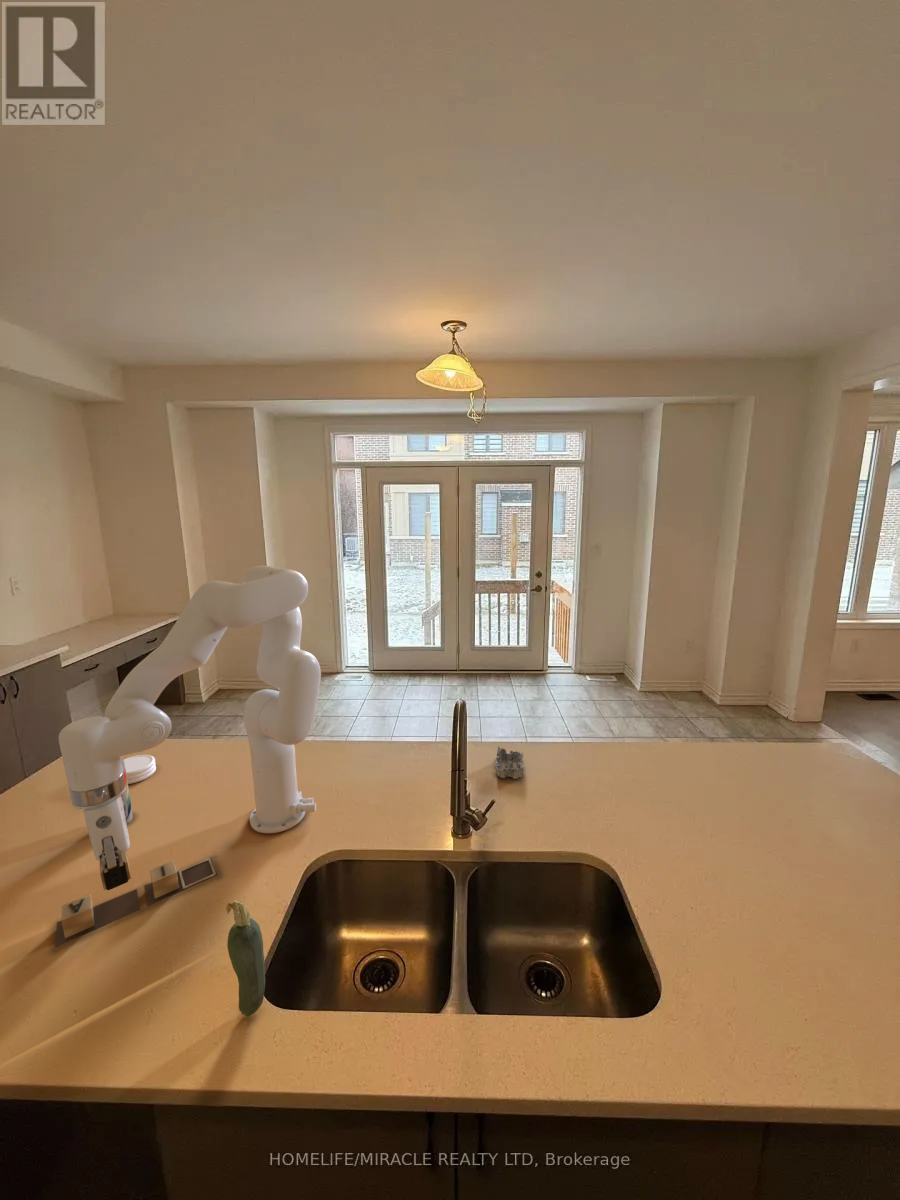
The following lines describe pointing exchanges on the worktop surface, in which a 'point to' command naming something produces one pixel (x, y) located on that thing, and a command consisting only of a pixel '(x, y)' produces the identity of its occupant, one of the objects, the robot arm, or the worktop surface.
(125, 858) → the tile
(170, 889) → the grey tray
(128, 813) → the lotion bottle
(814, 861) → the worktop surface
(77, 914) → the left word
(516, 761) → the egg carton
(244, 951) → the vegetable
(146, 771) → the coaster
